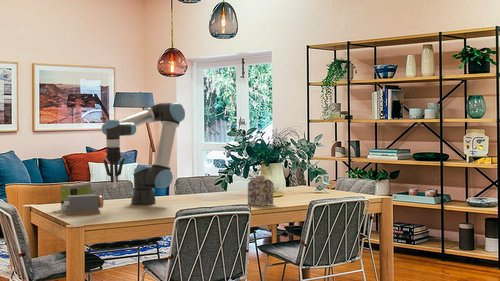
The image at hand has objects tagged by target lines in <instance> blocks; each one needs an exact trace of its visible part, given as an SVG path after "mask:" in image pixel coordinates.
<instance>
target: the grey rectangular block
mask: <svg viewBox="0 0 500 281" xmlns="http://www.w3.org/2000/svg"><path fill="white" fill-rule="evenodd" d="M98 196H99V209H101V208H102V209H103V207H104V197H103V195H101V194H99V195H98ZM65 206H69V201H64V207H65Z"/></svg>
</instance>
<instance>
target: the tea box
mask: <svg viewBox="0 0 500 281" xmlns="http://www.w3.org/2000/svg"><path fill="white" fill-rule="evenodd" d="M88 194H92V184H91V183H83V182H82V183H81V182H78V183H69V184H61V185H60V209H61V211H64V210H66V206H65V207H64V201H66V196H70V195H88Z"/></svg>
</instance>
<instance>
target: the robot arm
mask: <svg viewBox="0 0 500 281" xmlns="http://www.w3.org/2000/svg"><path fill="white" fill-rule="evenodd" d="M185 117H186V110H185V108H184V107H183V104H181V103H178V102H162V103H161V102H160V103H157V104H153V105H152V106H149V107H146V108H144V109H143V110H142V111H139V112H137V113H134V114H131V115H128V116H125V117H123V118H121V119H107V120H106V121H105V122H104V123H103V124H102V125H101V131H102V134H103V135H105V136H106V138H105V139H106V156H105V158H103V159H101V160H102V163H103V165H104V168H105V171H106V175H107V176H109V177H110V183H112V184H111V185H112V189H117V183H118V182H119V176H121V175H122V171H123V166H124V162H125V161H126V159H125V158H123V157H122V155H121V147H120V146H121V137H123V136H124V137H127V136H133V135H134V136H135V135H136V133H137V127H138V126H141V125H144V124H147V123H149V124H151V123H154V122H160V123H161V125H162V126H161V132H160V136H159V141H158V145H157V152H156V155H155V156H156V157H155V159H154V160H155V161H154V162H153V163H152V164H151V166H149V165H148V166H139V167H135V168H134V170H133V194H132V196H131V200H130V201H131V202H130V204H131V205H135V206H136V205H138V206H140V205H141V206H143V205H144V206H145V205H146V206H147V205H155V204H156V203H157V202H156V200H157V199H156V197H155V194H154V188H155V189H166V188H168V187H169V186H171V184H172V182H173V179H174V176H173V172H172V171H171V167H170V160H171V155H172V151H173V146H174V141H175V135H176V130H177V128H178V127H180V124H181V122H183V120H184V119H185ZM108 162H109V164H108ZM118 164H119V165H118Z"/></svg>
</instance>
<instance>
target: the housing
mask: <svg viewBox="0 0 500 281" xmlns="http://www.w3.org/2000/svg"><path fill="white" fill-rule="evenodd" d="M99 196H100V195H97V194H94V193H91V194H88V195H70V196H66V201H69V206H66V210H63V214H65V215H67V216H69V217H71V216H72V217H73V216H86V215H87V216H88V215H99V214H100V212H101V210H100V208H99Z"/></svg>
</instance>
